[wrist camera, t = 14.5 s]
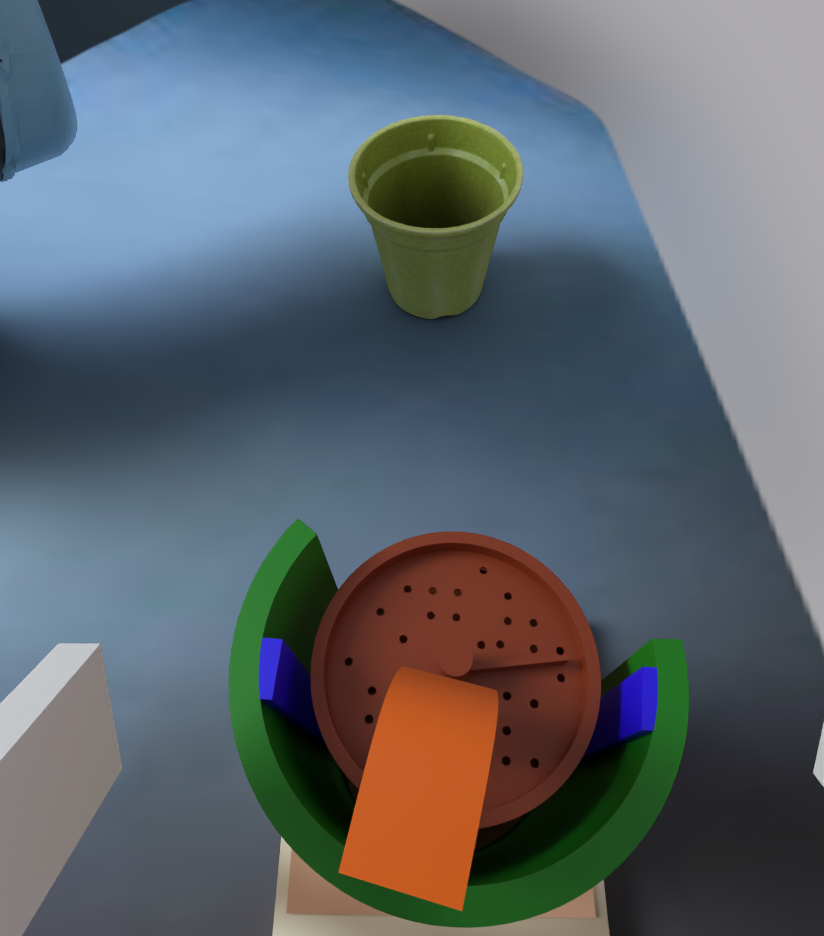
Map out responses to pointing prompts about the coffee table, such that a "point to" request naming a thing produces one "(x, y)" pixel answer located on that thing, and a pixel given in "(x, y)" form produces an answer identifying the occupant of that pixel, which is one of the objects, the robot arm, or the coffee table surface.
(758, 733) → the coffee table surface
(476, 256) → the plant pot
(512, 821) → the board
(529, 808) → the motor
